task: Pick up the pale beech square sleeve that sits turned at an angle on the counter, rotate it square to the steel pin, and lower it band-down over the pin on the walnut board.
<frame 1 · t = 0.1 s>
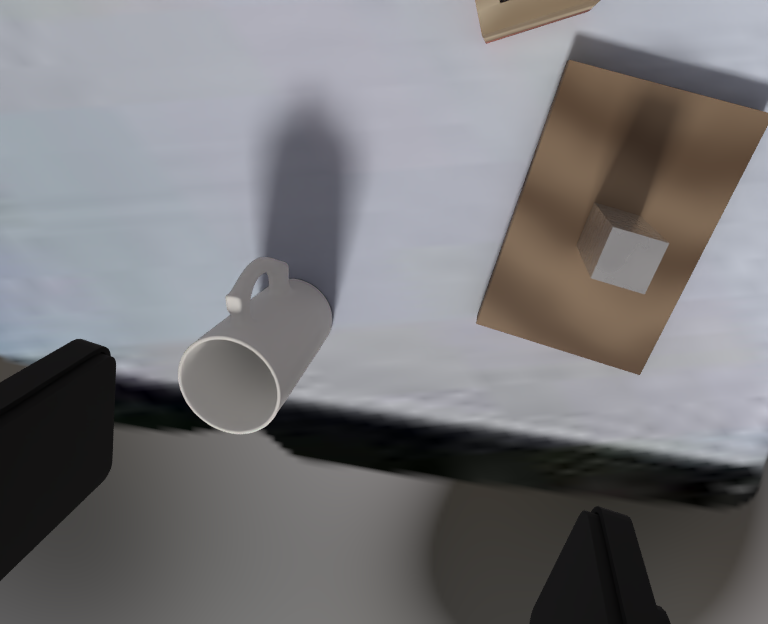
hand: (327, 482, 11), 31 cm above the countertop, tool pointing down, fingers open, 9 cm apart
pin board: (604, 225, 38), on the countertop
steel pin: (617, 244, 33), on the pin board, point 5 cm above the countertop
mug: (296, 294, 45), on the countertop
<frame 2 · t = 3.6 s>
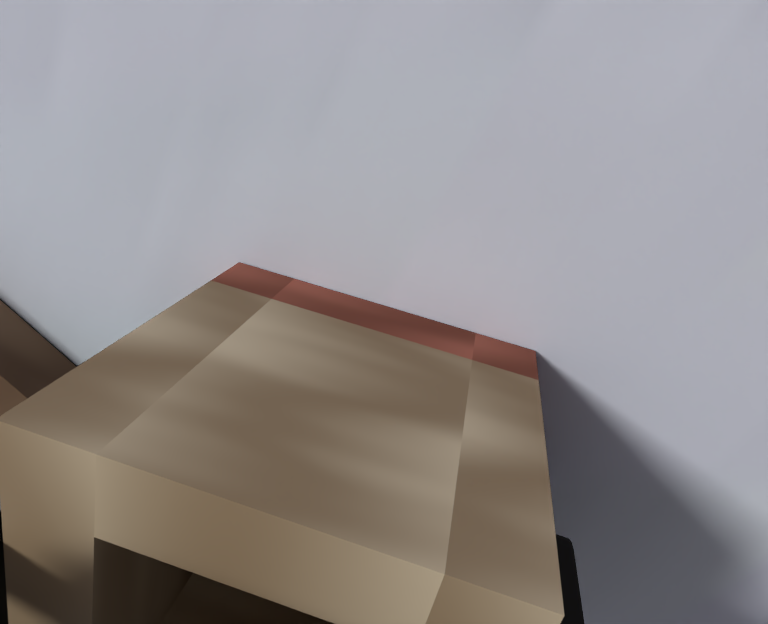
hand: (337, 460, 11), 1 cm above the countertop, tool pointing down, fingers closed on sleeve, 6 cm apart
sleeve: (351, 429, 12), on the countertop, touching gripper
when the fingers open (4 cm above the countertop, at t = 10.8 s): sleeve drops 1 cm, resting on pin board.
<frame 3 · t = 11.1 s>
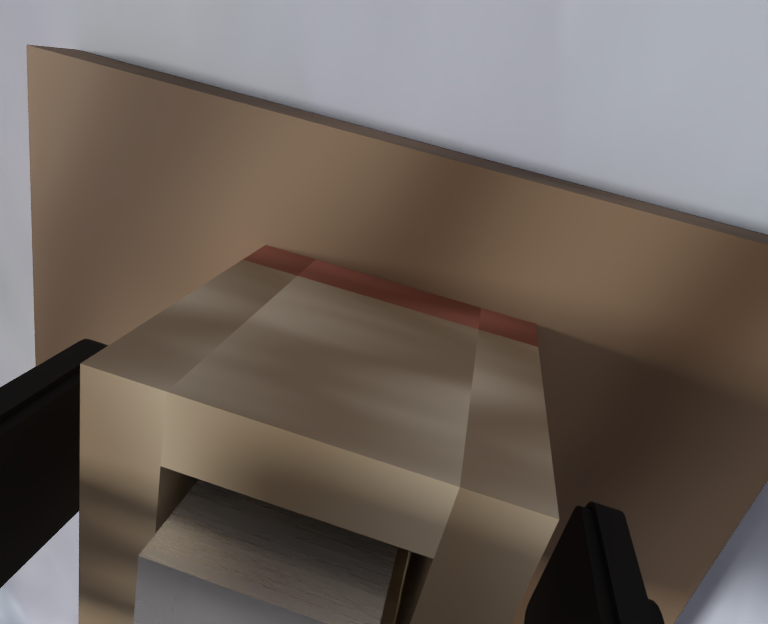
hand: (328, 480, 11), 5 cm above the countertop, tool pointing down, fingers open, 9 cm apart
pin board: (377, 372, 15), on the countertop
steel pin: (321, 496, 10), on the pin board, point 5 cm above the countertop
sleeve: (367, 399, 14), point 1 cm above the countertop, touching pin board
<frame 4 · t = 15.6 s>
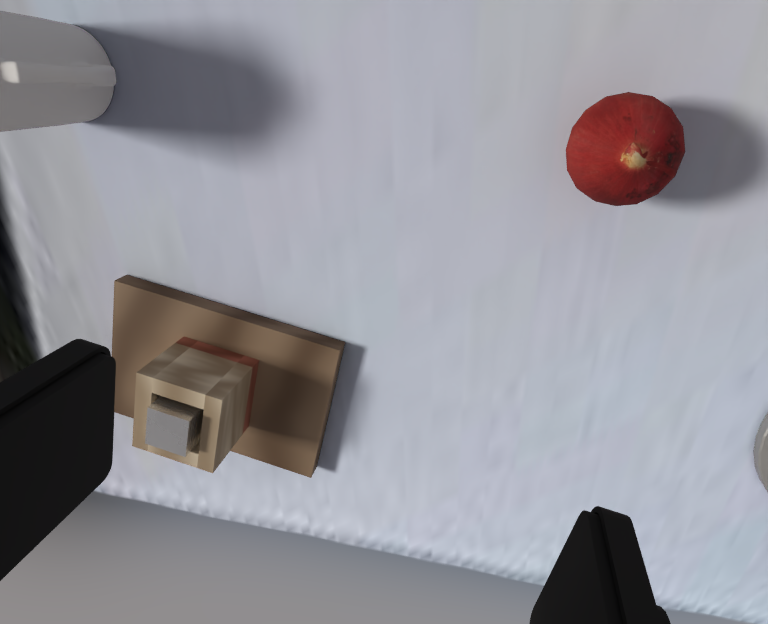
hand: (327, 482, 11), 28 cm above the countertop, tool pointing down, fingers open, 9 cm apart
pin board: (225, 373, 45), on the countertop
steel pin: (193, 405, 41), on the pin board, point 5 cm above the countertop
onion: (610, 144, 34), on the countertop
sleeve: (216, 382, 44), point 1 cm above the countertop, touching pin board
mug: (97, 75, 38), on the countertop
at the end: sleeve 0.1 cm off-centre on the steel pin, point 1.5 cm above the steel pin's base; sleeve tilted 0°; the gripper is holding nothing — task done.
